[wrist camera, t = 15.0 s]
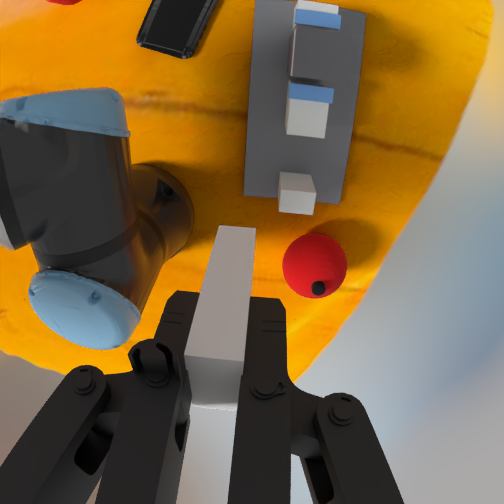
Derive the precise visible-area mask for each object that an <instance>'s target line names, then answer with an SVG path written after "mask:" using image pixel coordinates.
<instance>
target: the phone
mask: <svg viewBox="0 0 504 504" xmlns="http://www.w3.org/2000/svg"><path fill="white" fill-rule="evenodd" d="M217 2H218V0H152V2H151V4H150V7H149V9H148V11H147V13H146V16H145V18H144V20H143V23H142V25H141V28H140V30H139V33H138V35H137V38H136V41H137V44H138V45H139V46H141V47H144V48H147V49H151V50H154V51H158V52H161V53H164V54H168V55H171V56H174V57H177V58H181V59H187V58H189V57H191V56H192V55H193V53H194V51H195V49H196V47H197V45H198V42H199V40H200V39H201V37H202V34H203V31H204V30H205V28H206V26H207V23H208V21H209V18H210V16H211V14H212V12H213V10H214V8H215V6H216V4H217Z"/></svg>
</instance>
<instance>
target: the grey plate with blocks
mask: <svg viewBox="0 0 504 504" xmlns="http://www.w3.org/2000/svg"><path fill="white" fill-rule="evenodd" d="M365 21H366V13H362V12H357V11H352V10H347V9H342V8H338V6H337V5H331V4H325V3H318V2H311V1H304V0H298V2H295V1H285V0H256V1H255V15H254V29H253V44H252V59H251V74H250V90H249V106H248V123H247V140H246V157H245V175H244V194H243V196H256V197H268V198H278V208H279V212H286V213H297V214H308V215H313V211H314V205H315V202H321V203H330V204H339V203H340V198H341V193H342V188H343V182H344V177H345V172H346V166H347V160H348V154H349V148H350V142H351V136H352V130H353V123H354V116H355V110H356V102H357V95H358V87H359V79H360V71H361V62H362V53H363V43H364V33H365ZM297 27H305V28H313V29H320V30H326V31H333V32H338V33H344V34H349V35H352V40H351V50H350V60H349V69H348V78H347V84H343V83H337V82H331V81H324V80H317V79H310V78H301V77H293V76H291V75H290V74H289V73H287V65H288V53H289V40H290V36H291V35H292V33H293V32H294V30H295V28H297Z"/></svg>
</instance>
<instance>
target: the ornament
mask: <svg viewBox="0 0 504 504" xmlns="http://www.w3.org/2000/svg"><path fill="white" fill-rule="evenodd" d="M282 268H283V274H284V278H285V280H286V282H287V283H288V285H289V286H290V288H291V289H293V290H294V291H295V292H296V293H297V294H299V295H301V296H304V297H307V298H322V297H326V296H328V295H330V294H332V293H333V292H335V291H336V290H337V289H338V288H339V287H340V285H341V284H342V282H343V281H344V278H345V276H346V271H347V260H346V256H345V253H344V251H343V249H342V248H341V246H340V245H339V244H338V243H337V242H336V241H335V240H334V239H332V238H331V237H329V236H327V235H323V234H319V233H311V234H306V235H303V236H301V237H299V238H297V239H296V240H295V241H293V242H292V243H291V244H290V246H289V247H288V249H287V250H286V252H285V254H284V258H283V265H282Z"/></svg>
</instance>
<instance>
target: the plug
mask: <svg viewBox="0 0 504 504" xmlns="http://www.w3.org/2000/svg"><path fill="white" fill-rule="evenodd" d="M351 40H352V35H349V34H344V33H338V32H333V31H326V30H320V29H313V28H305V27H297V28H295V30H294V32H293V33H292V35H291V36H290V40H289V53H288V65H287V73H289V74H290V75H291V76H293V77H301V78H310V79H317V80H324V81H331V82H337V83H343V84H347V78H348V69H349V60H350V50H351Z"/></svg>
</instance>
